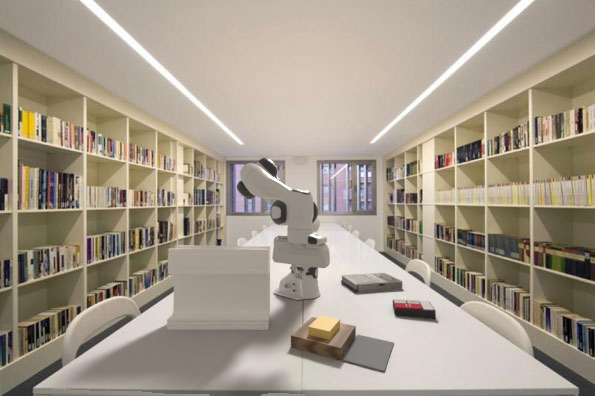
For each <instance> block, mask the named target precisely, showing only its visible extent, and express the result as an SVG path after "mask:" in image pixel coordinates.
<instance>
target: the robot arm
mask: <svg viewBox="0 0 595 396" xmlns="http://www.w3.org/2000/svg"><path fill="white" fill-rule="evenodd" d="M277 175H278V168H277V166H276V163H275V162H274V161H272V160H271V159H269V158H266V157H262V158H260V159H259V160H258V161H257V162H256V163H252V162H249V163H246V164H244V165H242V166H241V168H240V170H239V176H240V180H239V181H238V182H237V184H236V190H237V192H238V194H239V195H240V196H241V197H243V198H245V199H247V200H252V199H254V198H255V197H256V198H259V199H264V200H265V202H266V203H267V204H268V205H269V206H270V213H269V214H270V218H271V220H272V222H273V223H274V224H275V225H278V226H287V231H286V232H287V235H277V236H275V238H273V249H272V261H273V262H274V263H279V264H285V265H286V264H287V265H290V267H289V270H290V272H288V274H287V275H285V276H284V277H282V278H281V279H280V281H279V283H278V284H279V285H278V287H277V288H276V289H274V292H273V293H274V294H275V295H278V296H281V297H284V298H289V299H291V300H296V301H301V300H309V299H310V300H311V299H316V298H319V297H320V296H321V292H320V287H319V281H318V278H319V268H320V269H326V268H328V267H329V266H330V264H331V259H330V258H331V257H330V248H329V246H328V245H327V242H328V237H327V236H325V235H323V234H320V233H318V231H319V228H320V224H321V223H320V218H318V215H319V209H318V206H317V203H316V202H315V201H314V199H313V194H312V192H311V191H309V190H308V189H307V190H306V189H301V188H293V189H292V188H291V187H290V186H289V185H286V184H284V183H283V182H281V181H280V180H278V177H277Z"/></svg>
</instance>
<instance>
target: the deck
mask: <svg viewBox="0 0 595 396" xmlns="http://www.w3.org/2000/svg"><path fill="white" fill-rule="evenodd" d="M317 318H318V317H315V316H314V317H313V316H311V317H310V318H308V319H307V320H306V322H304V323H303V324H302V325H301V326H300V327H299V328H298V329H296V331H294V332H293V333H292V334H290V348H294V349H296V350H297V349H298V350H301V351H304V352H309V353H313V354H316V355H319V356H322V357H327V358H330V359H333V360H337V361H342V359H343V357H344V355H345V354H346V352H347V351H348V349H349V347H350V346H351V344H352V343H353V341H354V339H355V338H356V336H357V334H356V333H357V330H356V329H357V326H356V325H351V324H348V323H342V322H340V327H339V329H338V330H337V331H336V332H335V334H334V335H333V336H332V337H331V338H330V340H328V339H324V338H320V337H316V336H312V335H308V326H309V325H311V324H312V323H313V322H314V321H315V320H316V319H317Z"/></svg>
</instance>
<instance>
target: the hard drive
mask: <svg viewBox="0 0 595 396" xmlns="http://www.w3.org/2000/svg"><path fill="white" fill-rule="evenodd" d="M340 283H341V284H343V285H344V286H345V287H347V288H349V289H350V290H351V291H353V293H367V292H369V293H370V292H382V291H395V290H403V280H402V279H399V278H396V277H394V276H392V275H390V274H388V273H385V272H373V273H372V272H371V273H356V274H342V275H341V280H340Z"/></svg>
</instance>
